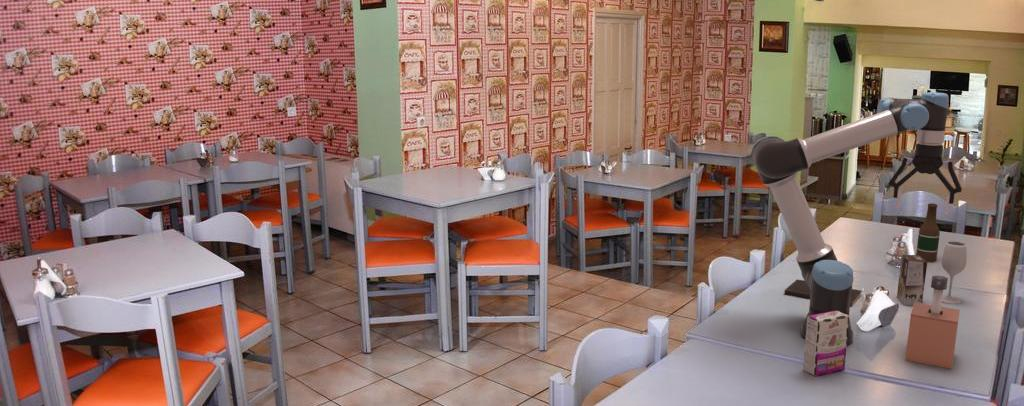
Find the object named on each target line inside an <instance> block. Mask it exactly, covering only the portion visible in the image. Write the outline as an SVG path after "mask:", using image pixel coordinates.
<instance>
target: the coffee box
mask: <svg viewBox="0 0 1024 406" xmlns="http://www.w3.org/2000/svg"><path fill="white" fill-rule="evenodd" d="M900 255H901V256H900V264H899V265H900V266H899V272H898V273H899V274H898V281H897V282H898V283H897V294H896V298H897V299H898V300H899V302H900V303H901V304H902V305H904V306H914V303H922V304H923V299H924V293H925V292H924V290H925V286H926V285H925V283H926V276H927V268H928V263H929V262H927V261H926V260H925V259H923V258H922V257H921V256H920V255H916V254H900Z"/></svg>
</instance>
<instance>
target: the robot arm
mask: <svg viewBox="0 0 1024 406" xmlns="http://www.w3.org/2000/svg"><path fill="white" fill-rule="evenodd" d="M949 98H950V97H949V95H948V94H947V93H945V92H933V91H931V92H928V91H927V92H923V93H922V94H921V97H920V98H893V97H890V98H881V99H880V100H879V101H878V103H877V107H876V108H877V109H876V113H875V114H872V115H869V116H866V117H863V118H860V119H858V120H855V121H852V122H849V123H847V124H844V125H841V126H838V127H836V128H835V127H834V128H832V129H829V130H826V131H824V132H821V133H818V134H815V135H812V136H810V137H807V138H803V139H802V138H799V137H796V138H794V139H791V140H787V141H786V140H784V139H783V138H781V137H778V136H775V135H773V136H772V135H769V136H764V137H762V138H759V139H758V140H757V141H756V142H755V143H754V145H753V146H752V149H751V152H750V159H751V162H752V164H753V165H754V166H755V168H756V170H757V173H758V176H759V177H760V179H761V182H762V185H764V186H766V187H769V188H770V190H771V193H772V195H773V198H774V199H775V202H776V204H777V207H778V209H779V212H780V213H781V215H782V219H783V220H784V223H785V225H786V228H787V230H788V231H789V235H790V236H791V239H792V241H793V243H794V246H795V247H796V250H797V255H796V257H795V260H796V262H797V264H798V268H799V269H800V272H801V277H802V278H803V279H802V280H804V281H805V282H806V283H807V285H808V286H809V288H810V290H811V294H810V299H809V307H808V311H807V314H806V317H805V318H804V321H803V324H802V325H801V328H800V330H801V331H800V336H801V337H802V338H804V339H805V340H806V326H807V316H810V315H816V314H821V313H826V312H832V311H840V312H842V313H844V314H847V315H849V316H850V312H851V311H850V310H851V307H850V302H851V293H852V289H853V283H854V270H853V268H852V267H851V266H850V265H849V264H847V263H845V262H844V263H843V262H842V261H839V260H838V257H837V256H836V254H835V250H834V249H833V247H832V245H830V244H827V243H825V241H824V238H823V236H822V234H821V231H820V229H819V226H818V224H817V221H816V220H815V218H814V215H813V213H812V211H811V208H810V206H809V203H808V201H807V199H806V196H805V194H804V192H803V189H802V187H801V185H800V183H799V180H798V179H797V175H798V174H799V172H801V171H804V170H807V169H809V168H810V167H811V165H812V164H814V163H816V162H819V161H822V160H826V159H828V158H830V157H831V158H832V157H833V156H836V155H839V154H840V155H841V154H842V153H846V152H848V151H851V150H854V149H857V148H859V147H862V146H865V145H869V144H871V143H874V142H877V141H880V140H883V139H885V138H886V139H887V138H888V137H891V136H894V135H897V134H901V133H903V132H906V131H917V132H916V142H917V143H916V144H915V149H914V157H913V158H911V157H907V156H904V157H903V158H902V161H901V165H900V166H899V168H898V169H897V171H896V172H895V173H894V175H893V176H892V177H891V179H890V181H889V182H888V186H890V187H893V198H894V199H896V205H895V210H900V207H901V205H900V204H901V197H902V187H901V186H902V185H903V184H904V183H905V182H907V181H908V180H909V179H910V178H911V177H912V176H914V175H915V174H916V173H917V172H918V173H920V174H922V175H923V174H927V175H933V174H935V175H936V177H938V179H939V180H940V181H941V183H942V184H943V185H944V186H945V188H946V190H947V193H946V200H945V207H944V215H945V216H946V215H947V216H948V214H949V207H950V204H951V205H953V204H954V202H955V201H954V200H955V194H957V193H958V194H959V193H962V192H963V191H962V190H963V189H962V186H961V183H960V181H959V179H958V177H957V174H956V171H955V170H954V169H955V168H954V160H947V161H946V160H943V153H944V146H943V144H944V143H945V136H946V134H945V133H946V126H947V120H948V112H949V104H950V103H949V101H950V99H949ZM910 164H913V166H914V168H912V169H911V170H910V171H909V172H907V174H905V176H903V177H902V178H901V179H900V180H899V181H897V179H898V177H899V176H900V175H901V174H902V172H903V170H904V169H905V168H906V167H907V166H908V165H910ZM943 166H944V167H945V169H947V170H948V172H949V175H950V177H951V180H952V181H953V185H954V187H955V188H954V187H953V185H952V184H951V183H950V181H949V180H948V178H946V177H945V175H944V173H943V172H942V171H941V170H940V168H941V167H943ZM896 181H897V182H896ZM853 341H854V331H853V329H852V324H851V319H850V318H849V322H848V334H847V346H848V345H850V344H852V343H853Z"/></svg>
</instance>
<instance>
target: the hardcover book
mask: <svg viewBox="0 0 1024 406" xmlns="http://www.w3.org/2000/svg"><path fill="white" fill-rule="evenodd" d="M783 293H784V295H785V296H790V297H794V298H799V299H800V298H801V299H806V300H810V294H811V290H810V288H809V286H808V285H807V283H806V282H805V280H804V279H796V280H794V282H792V283H791V284H790V285H789V286H787V288H785V290H784V292H783ZM861 294H862V290H859V289H855V288H852V293H851V302H850V308H852V306H853V305H854V304H855V303H856V301H857V300H858V299H859V297H861ZM857 298H858V299H857Z"/></svg>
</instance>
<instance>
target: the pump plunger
mask: <svg viewBox="0 0 1024 406" xmlns="http://www.w3.org/2000/svg"><path fill="white" fill-rule="evenodd" d="M948 279H949V278H948V277H946V276H942V275H932V276H931V283H930V288H932V289H933V294H932V300H931V301H932V302H931V305H932V307H931V313H934V314H940V311H941V307H942V303H943V302H942V297H943V295H944V291H945V290H947V288H948V281H949V280H948Z"/></svg>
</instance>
